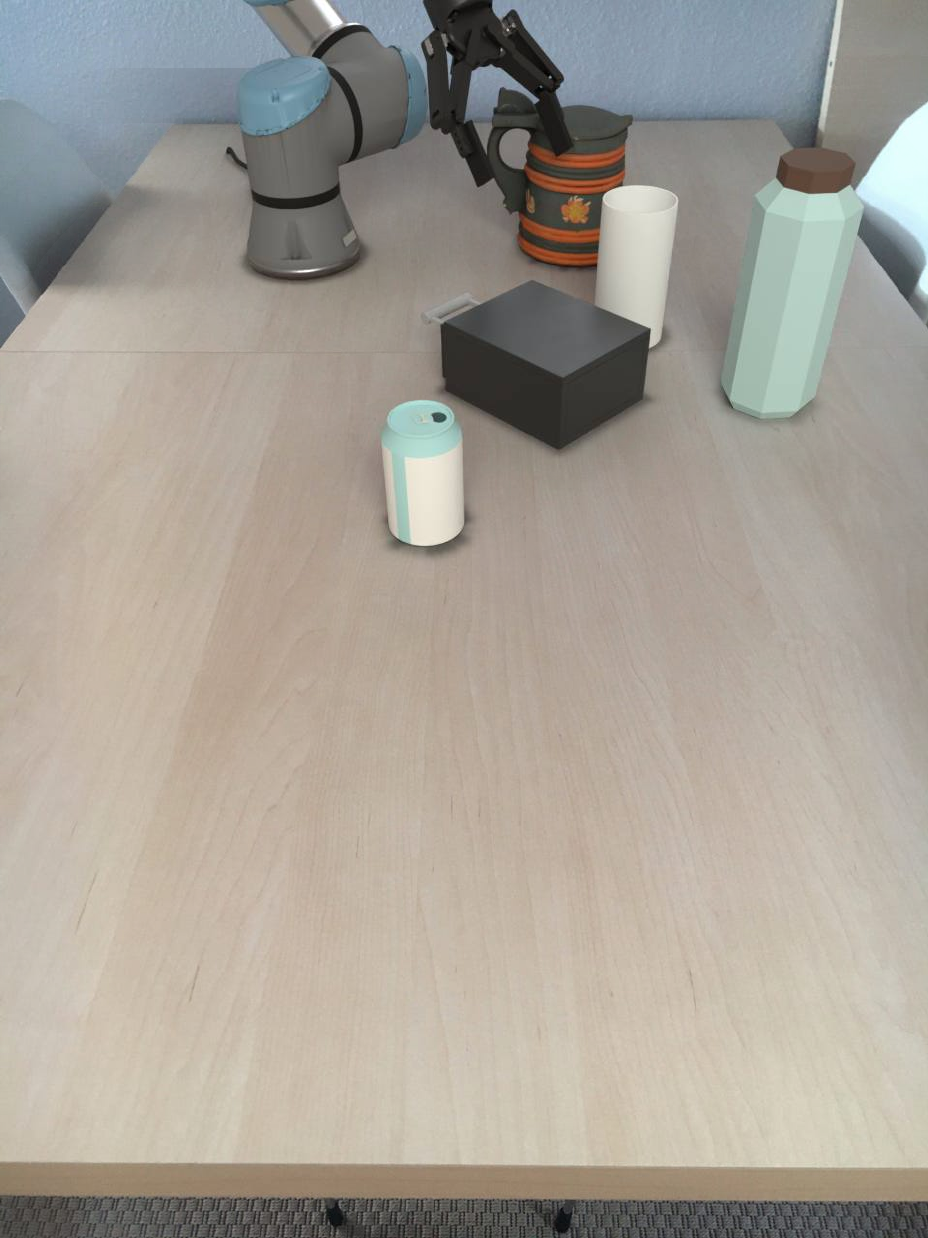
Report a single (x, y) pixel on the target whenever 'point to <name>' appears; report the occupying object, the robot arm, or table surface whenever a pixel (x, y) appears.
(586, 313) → the cabinet
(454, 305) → the drawer
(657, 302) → the cup
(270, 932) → the table surface
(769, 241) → the water bottle
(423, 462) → the can
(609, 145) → the beer stein
